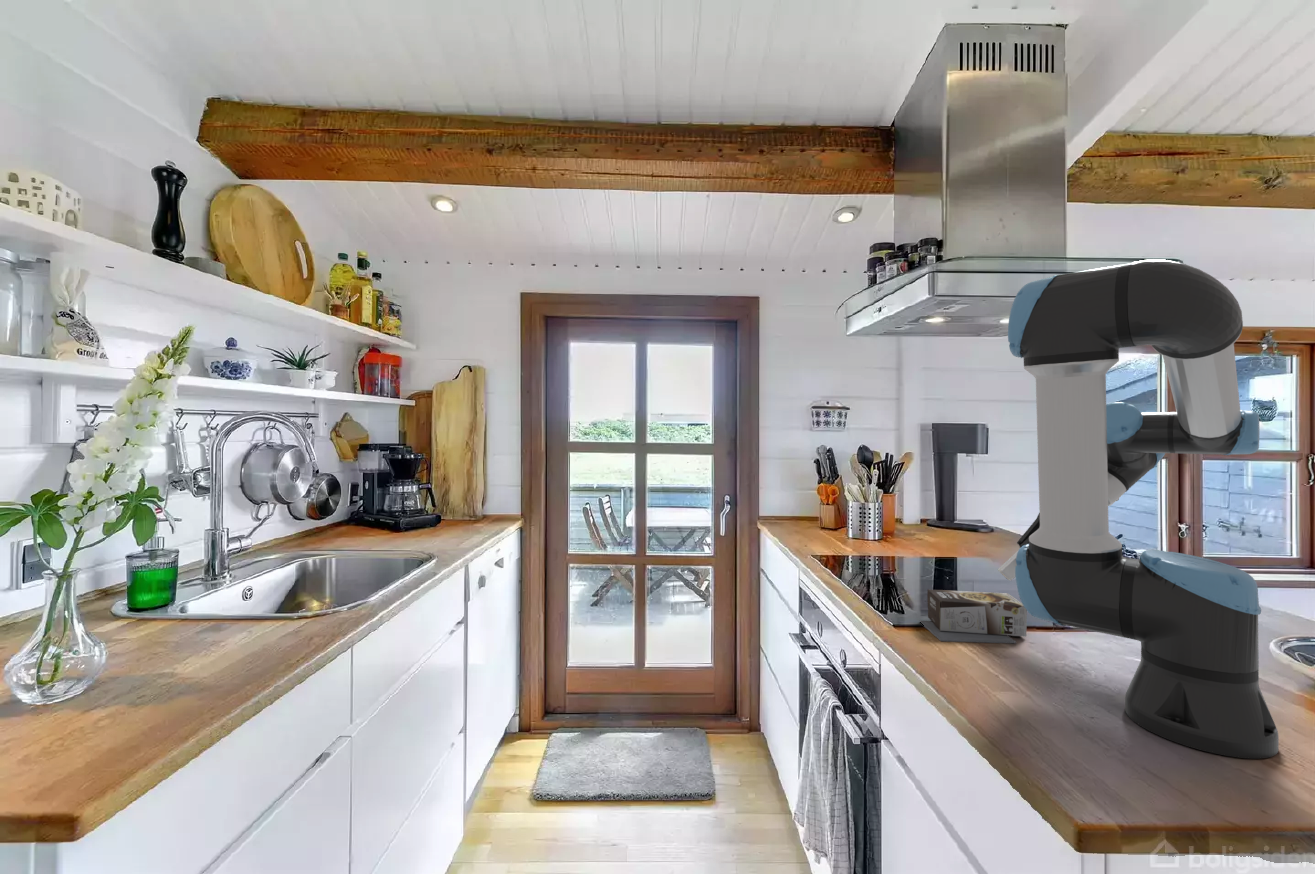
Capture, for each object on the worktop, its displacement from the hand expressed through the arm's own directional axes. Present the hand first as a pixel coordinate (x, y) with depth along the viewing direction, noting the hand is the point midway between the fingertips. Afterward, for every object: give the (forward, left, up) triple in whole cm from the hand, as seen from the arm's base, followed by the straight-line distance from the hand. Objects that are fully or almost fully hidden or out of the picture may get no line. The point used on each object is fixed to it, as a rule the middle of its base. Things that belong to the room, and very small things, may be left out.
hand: (1004, 575), depth 114 cm
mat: (-3, +8, -12) cm, 14 cm away
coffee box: (+1, -3, -8) cm, 9 cm away
